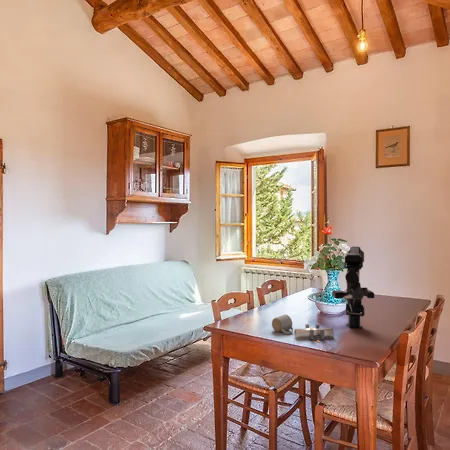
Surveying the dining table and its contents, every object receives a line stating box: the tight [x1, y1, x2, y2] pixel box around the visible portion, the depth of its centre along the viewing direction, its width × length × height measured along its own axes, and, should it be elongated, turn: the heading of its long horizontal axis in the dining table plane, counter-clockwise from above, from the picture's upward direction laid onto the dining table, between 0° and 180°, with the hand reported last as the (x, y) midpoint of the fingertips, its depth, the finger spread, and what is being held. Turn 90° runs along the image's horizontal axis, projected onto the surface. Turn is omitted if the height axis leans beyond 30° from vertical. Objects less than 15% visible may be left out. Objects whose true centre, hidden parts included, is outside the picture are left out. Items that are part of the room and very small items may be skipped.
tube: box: [293, 327, 335, 340], centre depth 178 cm, size 18×4×5 cm, turn 94°
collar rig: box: [304, 323, 325, 343], centre depth 178 cm, size 15×6×5 cm, turn 2°
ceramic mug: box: [271, 314, 294, 335], centre depth 187 cm, size 11×8×8 cm
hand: (352, 311), depth 179 cm, fingers closed
